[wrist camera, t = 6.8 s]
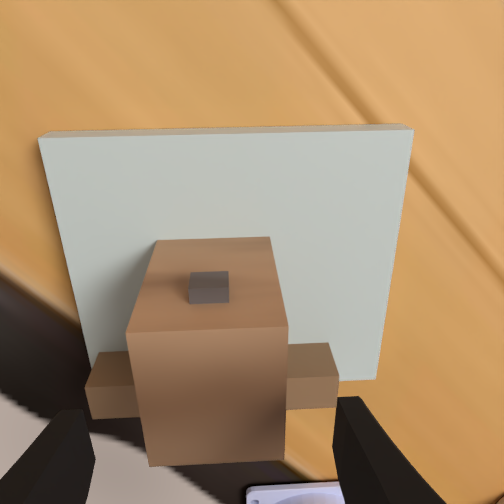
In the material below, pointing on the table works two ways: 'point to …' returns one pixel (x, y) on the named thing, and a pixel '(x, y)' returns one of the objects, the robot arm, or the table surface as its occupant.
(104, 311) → the wall board
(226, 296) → the cabinet block
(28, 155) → the table surface
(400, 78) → the table surface
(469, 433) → the table surface
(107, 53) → the table surface
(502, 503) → the candle
